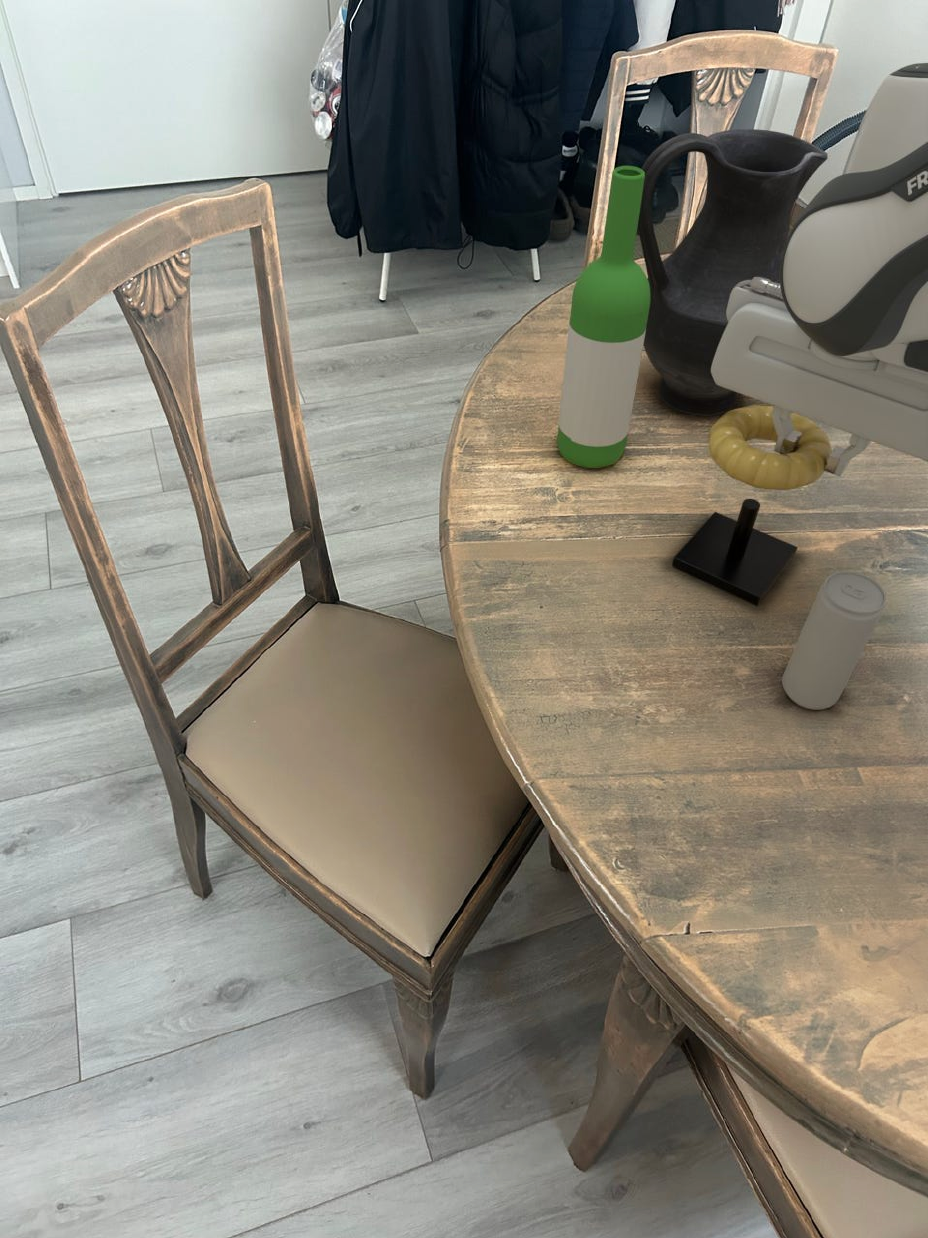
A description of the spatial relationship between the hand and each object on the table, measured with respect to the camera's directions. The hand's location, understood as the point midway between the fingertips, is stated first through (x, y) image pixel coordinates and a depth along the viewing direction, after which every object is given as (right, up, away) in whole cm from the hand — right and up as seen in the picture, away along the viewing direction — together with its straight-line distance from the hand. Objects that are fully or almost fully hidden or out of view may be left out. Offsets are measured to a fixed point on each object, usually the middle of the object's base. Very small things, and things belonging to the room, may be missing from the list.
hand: (809, 461), depth 75 cm
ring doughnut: (-3, +2, +2) cm, 4 cm away
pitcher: (-3, +14, +32) cm, 35 cm away
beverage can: (0, -20, 0) cm, 20 cm away
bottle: (-15, +5, +24) cm, 29 cm away
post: (-3, -8, +11) cm, 14 cm away
